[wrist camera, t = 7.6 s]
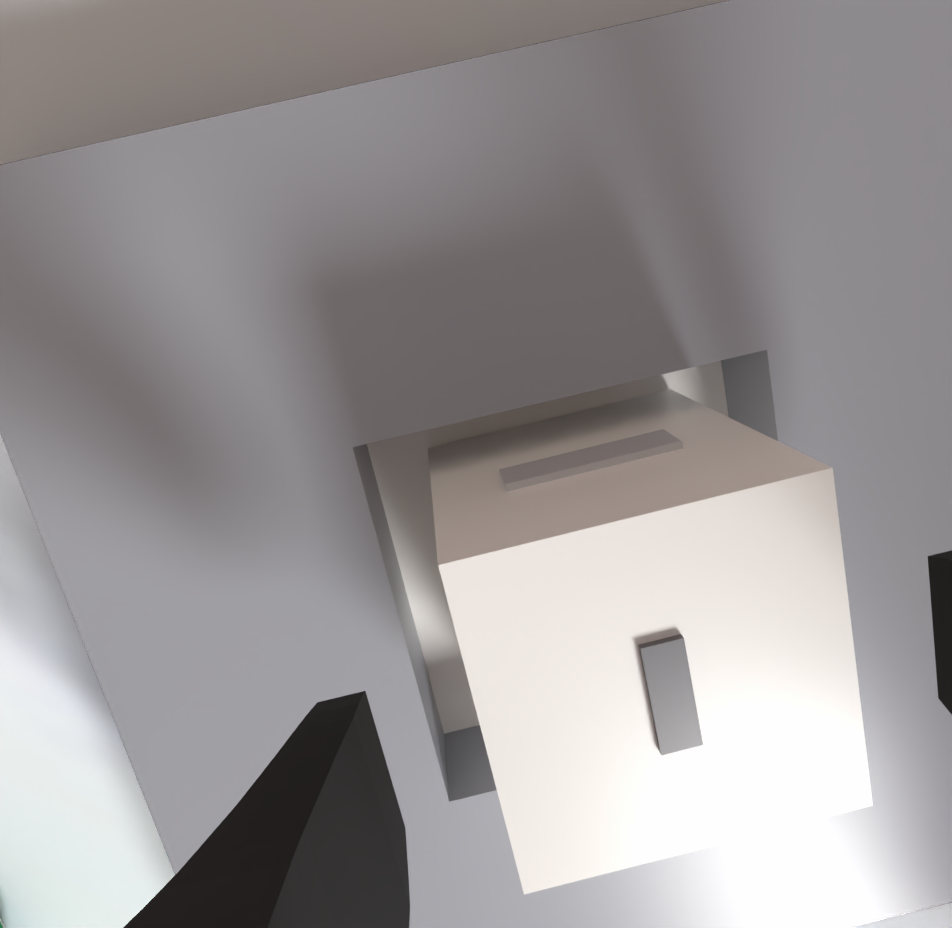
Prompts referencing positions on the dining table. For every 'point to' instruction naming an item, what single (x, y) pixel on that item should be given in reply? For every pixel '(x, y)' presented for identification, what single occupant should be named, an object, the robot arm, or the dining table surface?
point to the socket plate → (491, 405)
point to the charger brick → (650, 632)
